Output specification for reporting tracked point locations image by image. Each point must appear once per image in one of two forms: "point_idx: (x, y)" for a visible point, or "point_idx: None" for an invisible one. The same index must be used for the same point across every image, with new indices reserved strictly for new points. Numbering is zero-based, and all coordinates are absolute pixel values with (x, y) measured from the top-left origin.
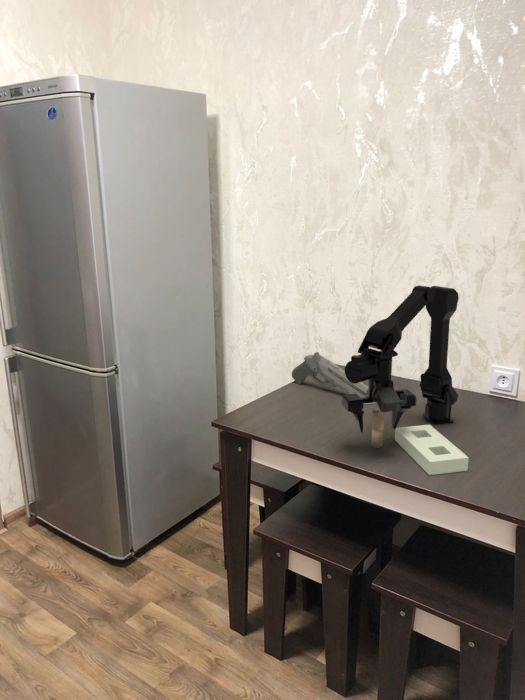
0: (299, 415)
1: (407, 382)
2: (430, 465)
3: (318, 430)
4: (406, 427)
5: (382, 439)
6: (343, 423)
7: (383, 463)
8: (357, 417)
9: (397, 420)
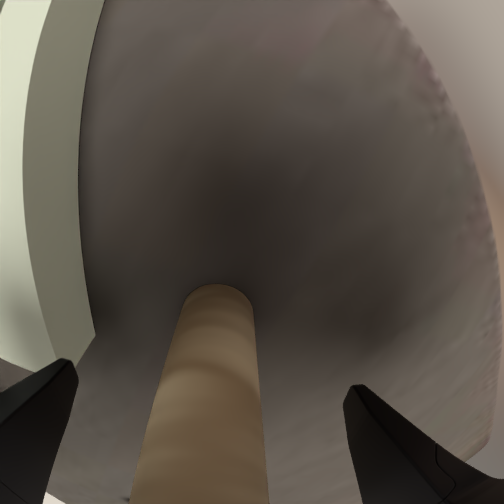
0: (351, 493)
1: (49, 491)
2: None
3: None
4: (13, 358)
5: (184, 319)
6: None
7: (303, 70)
8: (481, 473)
9: (12, 400)
